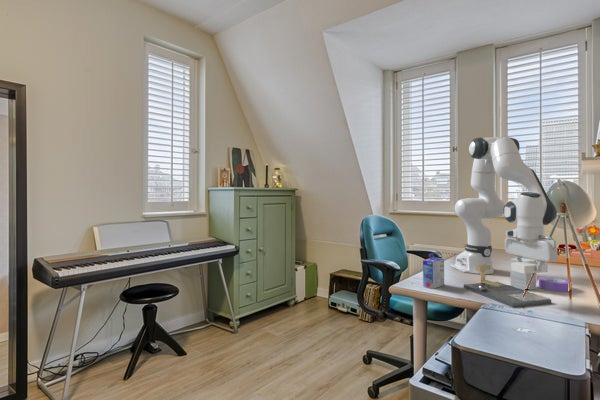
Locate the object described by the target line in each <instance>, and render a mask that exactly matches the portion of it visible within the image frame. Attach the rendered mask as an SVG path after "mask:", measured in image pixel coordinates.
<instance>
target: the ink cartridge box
mask: <svg viewBox="0 0 600 400" xmlns="http://www.w3.org/2000/svg"><path fill="white" fill-rule="evenodd" d="M422 276H423V277H422V282H423V285H422V286H423V287H424V288H427V289H433V290H434V289H438V288H439V287H442V286H445V259H444V258H441V257H440V258H439V257H435V254H434V253H432V252H431V253H429V254H428V258H427V259H424V260H422Z"/></svg>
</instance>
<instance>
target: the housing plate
mask: <svg viewBox="0 0 600 400" xmlns="http://www.w3.org/2000/svg"><path fill="white" fill-rule="evenodd" d="M495 282H496V283H500V284H501V286H494V285H490V284H486V283H485V286H481V282H478V283H477V282H475V283H467V284H465V283H464V284H463V289H465V290H467V291H470V292H473V293H476V294H478V295H481V296H483V297H486V298H488V299H491V300H492V301H496V302H497V303H498V302H499V303H500V304H502V305H505V306H509V307H511V308H521V307H530V306H539V305H540V306H541V305H551V304H552V299H551V298H549V297H546V296H543V295H540V294H537V293H535V292H530V291H527V293H526V295H525V296H524V297H523V293H524V291H525V290H523V289H519V288H516V287H513V286H510V284H509V285H508V284H505V283H503V282H499V281H495Z"/></svg>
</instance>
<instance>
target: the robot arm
mask: <svg viewBox="0 0 600 400" xmlns="http://www.w3.org/2000/svg"><path fill="white" fill-rule="evenodd" d="M520 146H521V145H520V142H519V140H518V139H517V138H514V137H503V136H491V137H490V136H489V137H476V138H473V139H472V140H471V141H470V142H469V147H468V152H469V156H470V157H471V158H472V159H473V161H472V162H473V163H472V167H471V176H470V187H471V188H472V189H473V190H475V191H476V192H478V197H467V198H461V199H459V200H457V201H456V202H455V205H454V212H455V214H456V216H457V217H458V218H460V219H461V220H462V221H463V223H464V226H465V228H466V233H467V234H466V235H467V236H466V237H467V244H465V245H463V247H465V248H464V251H462V252H461V253H458V255H456V258H455V263H451V264H450V267H452V268H454V269H456V270H458V271H460V272H463V273H470V274H478V275H479V274H480V275H481V271H476V265H482V264H489V265H491V268H490V270H485V275H492V274H494V273H495V268H494V265H493V263H494V262H493V256H492V253H493V252H492V249H493V245H492V232H491V230H490V228H488V227H487V226H485V225H484V224H483V222H482V221H483V220H482V219H484V220H486V219H487V220H488V219H491V220H492V219H495V218H496V219H497V218H501V217H502V216H503V218H504V219H505V220H506V221H507V222H508V223H511V224H516V228H513V229H510V230H506V231H505V239H504V251H505V252H506V254H510V255H513V256H514V258H516V260H517V262H522V259H521V258H526V259H531V260H536V262H537V263H538V264H537V266H534V268H535V269H534V270H535V271H537V272H540V273H542V272H541V267H542V266H543V265H544V264H546V263H555V262H557V260H558V250H557V245H556V243H557V241H556V240H555V239H554V238H553V236H546V235H545V234H544V233H545V232H544V230H545V226H547V225H550V224H551V223H552V222H553V221H555V219H556V218H557V215H558V214H557V213H558V212H557V211H558V210H557V208H556V206H555V204H554V202H552V201H551V199H550V198H549V196H548V194H547V192H546V190H545V188H544V186H543V185H542V183H541V181H540V178H539V177H538V175H537V174H536V172H535V171H534V170H533V169H532V168H531V167H529V166H528V165H526V163H525V162H524V161H523V159H522V156H521V153H520ZM496 176H498V177H500V178H502V179H504V180H506V181H507V180H508V181H511V182H515V183H518V184H521V185H523V186H524V187H525V188H526V189H527V192H525V191H524V192H520V193H519V194H518V196H517V198H515V199H513V200H510V201H509V200H508V202H506V203H504V201H503V200H502V199H500V197H499V196H498V195H497V192H496V187H495V186H496ZM545 262H546V263H545Z"/></svg>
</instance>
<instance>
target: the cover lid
mask: <svg viewBox="0 0 600 400" xmlns="http://www.w3.org/2000/svg"><path fill="white" fill-rule="evenodd" d="M537 264H538V263H537V261H536V262H535V261H529V262H513V263H511V262H510V269H511V270H512V271H516V272H520V273H524V274H527V273H536V274H537V273H538V274H539V273H548V264H547V263H544V265H543V266H542V267H541V272H537V271H535V270H534V269H535V268H534V266H537Z"/></svg>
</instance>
